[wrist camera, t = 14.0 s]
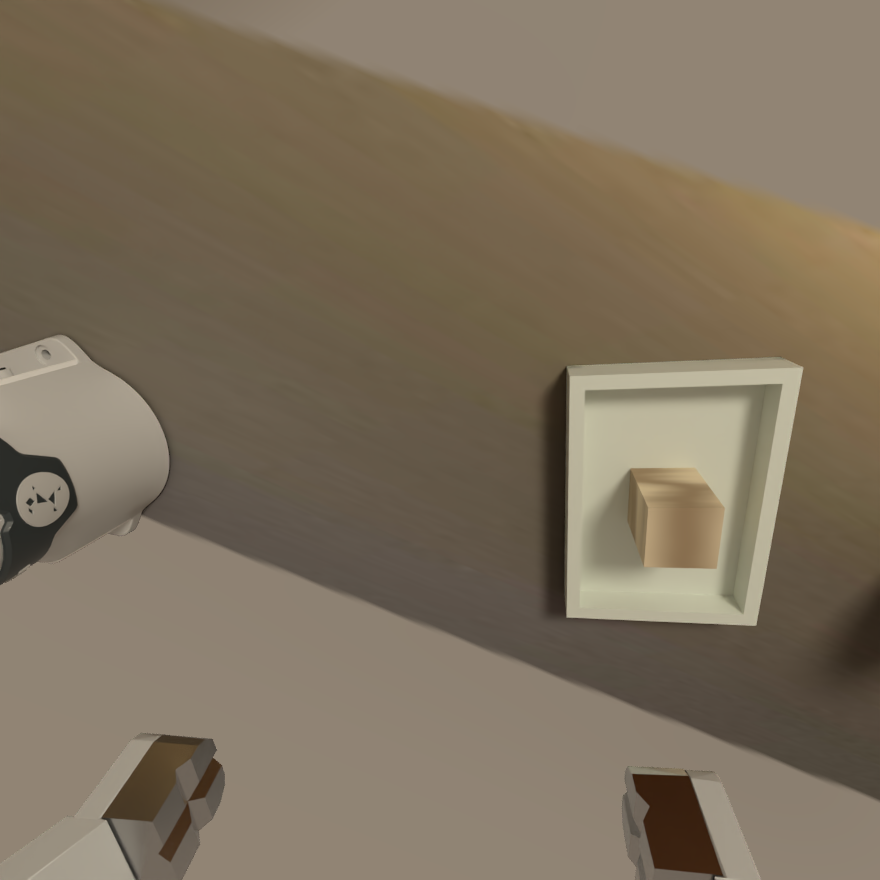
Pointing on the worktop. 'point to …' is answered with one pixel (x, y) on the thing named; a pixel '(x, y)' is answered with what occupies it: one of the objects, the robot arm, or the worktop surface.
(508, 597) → the worktop surface
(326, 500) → the worktop surface
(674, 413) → the shallow rimmed tray
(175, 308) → the worktop surface
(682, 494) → the birch block
